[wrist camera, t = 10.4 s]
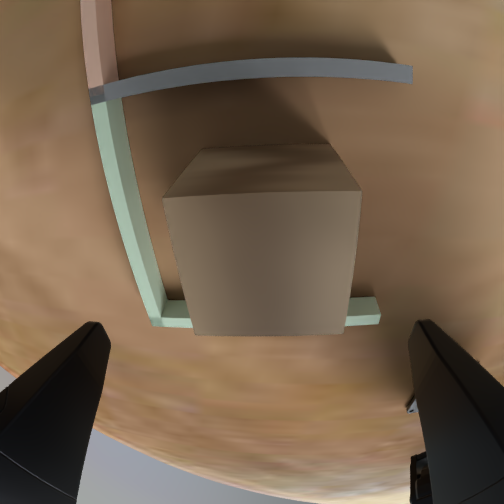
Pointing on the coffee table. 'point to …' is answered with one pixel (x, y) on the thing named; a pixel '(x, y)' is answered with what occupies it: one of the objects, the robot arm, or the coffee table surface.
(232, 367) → the coffee table surface
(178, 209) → the walnut block
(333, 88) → the coffee table surface
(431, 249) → the coffee table surface
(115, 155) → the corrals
